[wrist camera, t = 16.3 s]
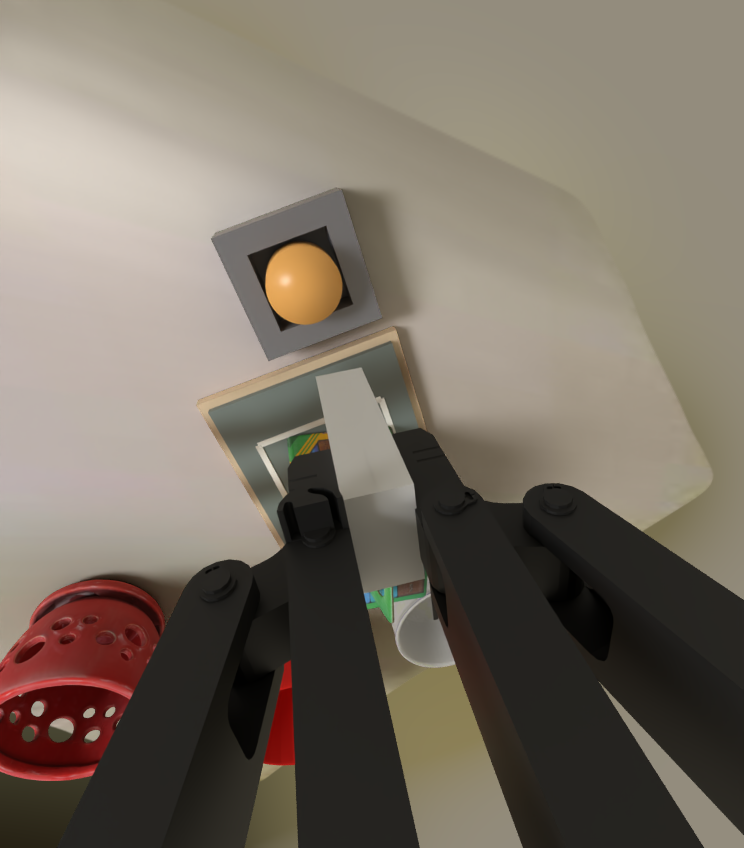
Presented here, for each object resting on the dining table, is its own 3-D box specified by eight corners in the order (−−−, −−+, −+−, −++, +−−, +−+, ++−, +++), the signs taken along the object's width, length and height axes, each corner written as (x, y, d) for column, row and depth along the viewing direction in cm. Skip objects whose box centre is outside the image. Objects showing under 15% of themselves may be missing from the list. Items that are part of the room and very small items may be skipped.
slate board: (198, 400, 39) (195, 409, 37) (393, 326, 39) (398, 332, 37) (296, 569, 49) (297, 581, 48) (450, 510, 49) (455, 521, 48)
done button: (253, 255, 32) (252, 263, 30) (322, 230, 33) (326, 235, 30) (282, 322, 35) (283, 335, 32) (346, 298, 35) (352, 309, 32)
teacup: (360, 588, 52) (374, 652, 45) (420, 519, 49) (445, 576, 42) (452, 623, 58) (476, 684, 51) (510, 563, 55) (545, 619, 48)
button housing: (215, 232, 33) (210, 238, 31) (336, 187, 33) (341, 189, 31) (268, 347, 38) (268, 361, 35) (374, 307, 38) (382, 318, 35)
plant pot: (122, 672, 52) (85, 800, 41) (3, 620, 45) (-76, 755, 35) (207, 605, 49) (190, 722, 39) (93, 540, 43) (38, 659, 33)
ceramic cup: (305, 701, 60) (312, 791, 51) (211, 639, 52) (199, 734, 43) (390, 650, 58) (412, 734, 50) (307, 577, 50) (315, 663, 41)
